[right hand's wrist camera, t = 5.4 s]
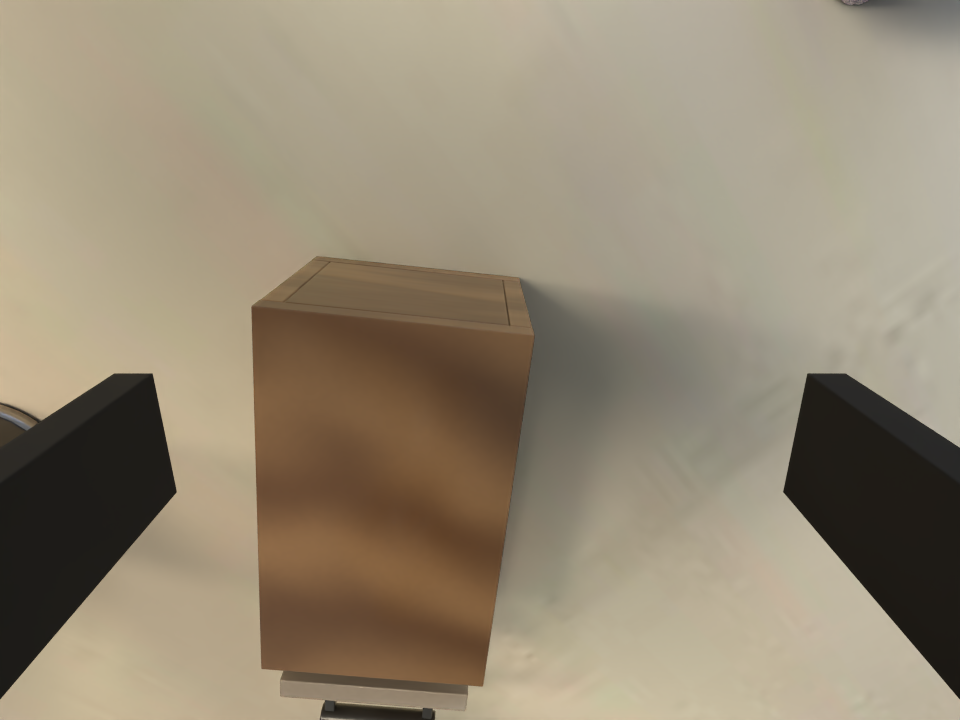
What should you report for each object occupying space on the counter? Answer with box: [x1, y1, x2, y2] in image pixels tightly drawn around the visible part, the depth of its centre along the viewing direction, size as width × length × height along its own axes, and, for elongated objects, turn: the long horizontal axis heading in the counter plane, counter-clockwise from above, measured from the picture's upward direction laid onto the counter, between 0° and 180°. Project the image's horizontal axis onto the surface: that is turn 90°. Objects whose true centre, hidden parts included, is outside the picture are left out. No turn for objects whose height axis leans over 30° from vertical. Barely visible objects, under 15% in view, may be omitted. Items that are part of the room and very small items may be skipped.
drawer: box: [280, 671, 468, 720], centre depth 34 cm, size 24×10×8 cm, turn 174°
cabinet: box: [252, 256, 535, 686], centre depth 32 cm, size 19×11×10 cm, turn 174°
